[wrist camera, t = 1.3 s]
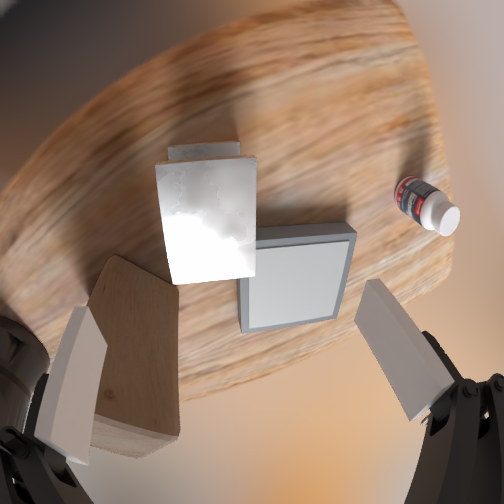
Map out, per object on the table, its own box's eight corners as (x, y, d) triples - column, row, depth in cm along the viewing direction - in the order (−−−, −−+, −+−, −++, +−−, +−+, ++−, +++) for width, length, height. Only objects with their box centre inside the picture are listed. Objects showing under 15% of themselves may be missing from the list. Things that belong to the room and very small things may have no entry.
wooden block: (113, 248, 29) (59, 401, 12) (182, 286, 34) (186, 440, 17) (87, 301, 32) (50, 432, 15) (148, 330, 37) (142, 461, 20)
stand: (238, 318, 38) (241, 334, 35) (235, 229, 31) (239, 243, 28) (328, 305, 40) (337, 318, 38) (345, 221, 33) (357, 233, 30)
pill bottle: (391, 181, 31) (437, 208, 24) (418, 171, 31) (464, 194, 24) (394, 215, 34) (435, 247, 27) (420, 203, 34) (461, 231, 26)
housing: (178, 234, 30) (173, 284, 22) (168, 145, 25) (154, 165, 17) (239, 228, 31) (255, 276, 23) (238, 140, 26) (256, 157, 18)
